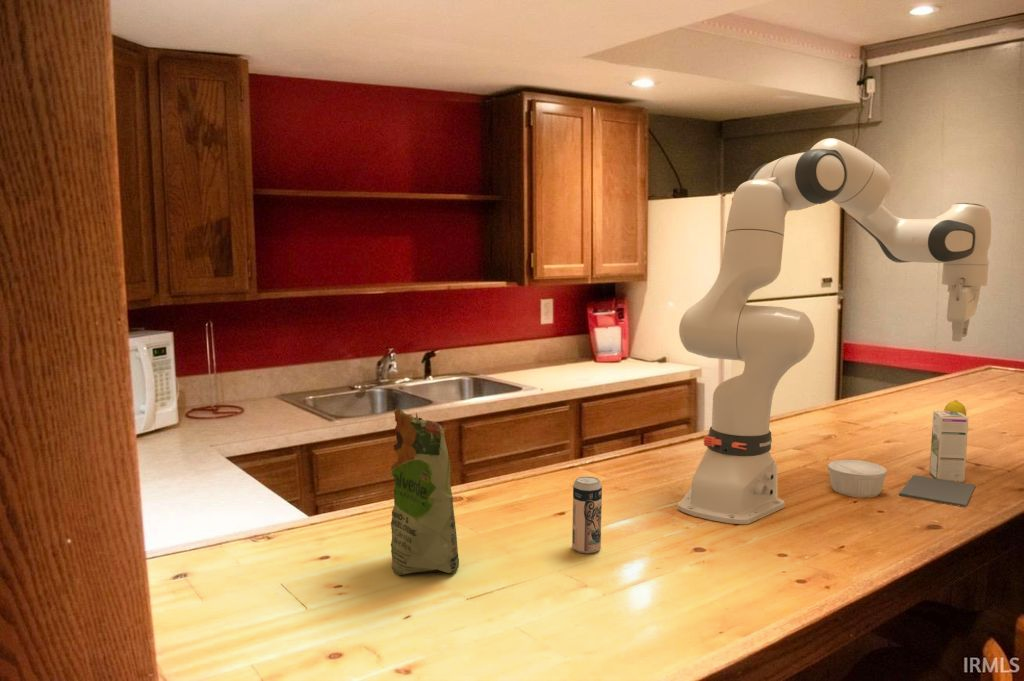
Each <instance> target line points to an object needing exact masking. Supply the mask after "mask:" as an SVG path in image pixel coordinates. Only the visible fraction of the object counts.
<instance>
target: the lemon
mask: <svg viewBox="0 0 1024 681" xmlns="http://www.w3.org/2000/svg"><path fill="white" fill-rule="evenodd" d="M943 411H956V412H960V413H962V414H964V415H965V416H967V409H966V406H965V405H964V404H963V403H962V402H960V401H958V400H957V399H954V400H953V401H950V402H948V403H947V404H946V405H945V407H944V409H943Z"/></svg>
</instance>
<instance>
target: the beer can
mask: <svg viewBox="0 0 1024 681" xmlns="http://www.w3.org/2000/svg"><path fill="white" fill-rule="evenodd" d="M572 488H573V490H572V531H571V533H572V534H571V547H572V549H573V550H574V551H576V552H577V553H580V554H586V555H587V554H590V555H591V554H594V553H596V552H598V551H599V550H601V547H602V546H601V545H602V538H601V537H602V508H603V507H602V506H603V504H602V503H603V502H602V501H603V499H602V498H603V486H602V484H601V481H600V479H599V477H594V476H585V475H584V476H579V477H576V478H575V481H574V482H573V483H572Z"/></svg>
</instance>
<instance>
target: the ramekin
mask: <svg viewBox="0 0 1024 681" xmlns="http://www.w3.org/2000/svg"><path fill="white" fill-rule="evenodd" d="M827 471H828V475H829V482H830V486H831V489H832V490H833V492H836V493H837V492H838V494H841V495H843V494H844V495H843V496H847V495H848V496H847V497H853V498H860V497H863V498H865V497H868V498H875V497H878V496H879V495H880V494H881V493H882V491H883V487H884V482H885V479H886V478H885V477H886V476H887V474H888V470H887V469H886V468H885V467H884V466H881V465H880V464H877V463H874V462H870V461H865V460H855V459H839V460H838V459H837V460H832V461H830V462H829V463H828V464H827Z"/></svg>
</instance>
